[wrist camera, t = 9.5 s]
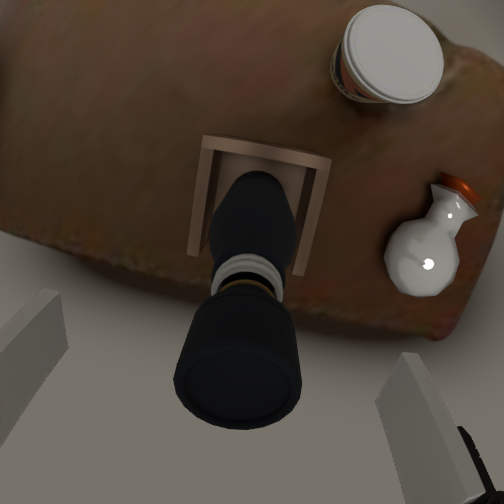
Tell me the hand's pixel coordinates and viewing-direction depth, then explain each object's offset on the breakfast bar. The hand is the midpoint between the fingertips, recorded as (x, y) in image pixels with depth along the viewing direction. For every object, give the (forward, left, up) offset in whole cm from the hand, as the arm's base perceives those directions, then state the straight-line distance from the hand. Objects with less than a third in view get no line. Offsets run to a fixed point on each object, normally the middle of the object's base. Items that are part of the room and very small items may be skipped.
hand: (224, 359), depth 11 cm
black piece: (0, 0, -28) cm, 28 cm away
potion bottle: (+21, +1, -29) cm, 36 cm away
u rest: (0, 0, -28) cm, 29 cm away
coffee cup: (+9, +17, -29) cm, 35 cm away
